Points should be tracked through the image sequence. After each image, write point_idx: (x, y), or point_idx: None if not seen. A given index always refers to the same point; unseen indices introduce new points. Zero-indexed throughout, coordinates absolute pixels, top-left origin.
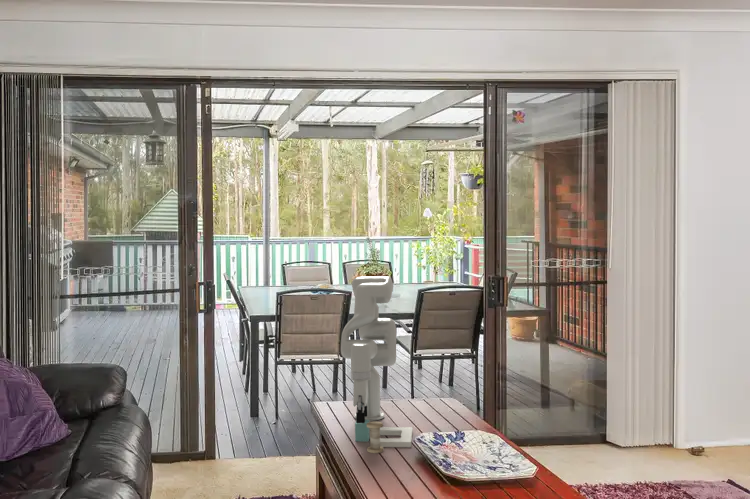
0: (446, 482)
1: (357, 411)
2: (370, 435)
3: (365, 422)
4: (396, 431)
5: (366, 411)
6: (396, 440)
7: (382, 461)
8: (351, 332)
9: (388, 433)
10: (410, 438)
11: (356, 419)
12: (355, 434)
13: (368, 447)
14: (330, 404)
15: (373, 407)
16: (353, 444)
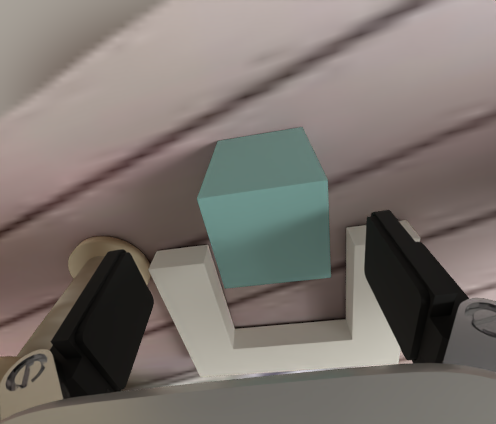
0: None
1: (12, 385)
2: (46, 318)
3: (248, 268)
4: (350, 318)
5: (382, 311)
6: (201, 341)
7: (18, 306)
8: None
9: (348, 283)
10: (241, 372)
11: (94, 274)
12: (212, 159)
13: (105, 246)
14: None
15: None
16: (166, 142)
